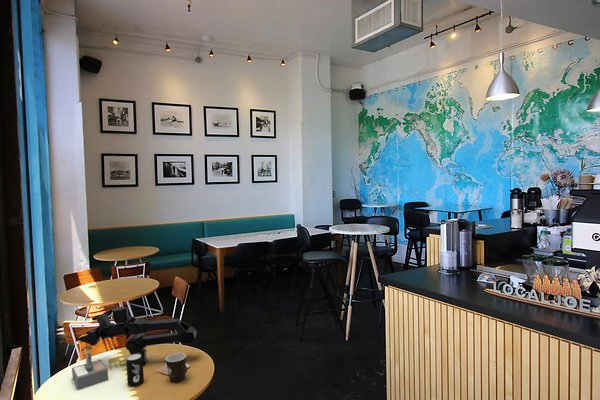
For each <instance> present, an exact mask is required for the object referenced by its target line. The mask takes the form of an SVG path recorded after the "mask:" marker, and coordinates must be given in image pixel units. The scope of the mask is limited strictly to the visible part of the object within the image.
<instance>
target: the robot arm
mask: <svg viewBox="0 0 600 400" xmlns="http://www.w3.org/2000/svg"><path fill="white" fill-rule="evenodd" d="M111 311H112V313H111V314H112V318H113V322H112V321H111V320H110V318H109V316H108V314H107V312H106V313H103V314H101V315H100V316H97V317H96V321H97V323H98V324H99V325H98V326H96V327H95V328H93V329H90V330H87V331H85V333H86V334H85V335H82V336H79V337H77V341H79V342H83V343H85V344H89V346H90V347H93V346H96V345H97V344H98V343H100V341H101V340H102V341H104V340H106V339H109V338H110V339H113V338H114V337H120V336H121V337H122V336H125V338H126V340H127V342H126V343H125V348H126V350H127V351H128V352H129V354H130V355H133V354H141V357H142V359H143V367H145V366H146V365H147V363H148V361H149V359H148V358H147V357H148V356H147V349H146V347H148V346H149V347H150V346H156V345H164V344H171V343H179V344H192V343H193V342H194V341H195V339H196V336H197V330H196V328H194V327H193V326H190V325H189V324H188V323H186V322H184V321H182V320H181V319H180V318H173V319H160V320H148V319H146V318H136V317H135V316H132V315H129V308H128V306H118V307H115V308H113V309H112V310H111ZM163 330H164V331H165V330H174V332H167V333H161V334H160V333H159V334H152V335H145V333H146V332H150V331H163Z"/></svg>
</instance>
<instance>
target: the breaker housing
mask: <svg viewBox="0 0 600 400" xmlns="http://www.w3.org/2000/svg"><path fill="white" fill-rule="evenodd" d="M92 367H93V368H92V369H91V370H89V369H88V367H87V365H86V363H85V364H84V363H83V364H81V365H77V366H74V367H72V368H71V373H72V375H71V376H72V380H73V383H74V384H75V386H76V388H77V390H79V391H81V390H83V389H86V388H88V387H91V386H95V385H98V384H101V383H104V382H107V381H109V371H108V368H107V366H106V365H105V364H104V362H103V361H102V359H98V360H93V361H92Z"/></svg>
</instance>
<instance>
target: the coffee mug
mask: <svg viewBox="0 0 600 400" xmlns="http://www.w3.org/2000/svg"><path fill="white" fill-rule="evenodd" d="M186 361H187V355H186V353H183V352H176V353H171V354H169V355H167V356H166V357H165V364H166V368H167V374H168V378H169V382H170V383H172V384H178V383H181V382H183V381H184V380H185V378H186V374H187V372H188V367H187V364H186V363H187V362H186Z"/></svg>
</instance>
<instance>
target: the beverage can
mask: <svg viewBox="0 0 600 400" xmlns="http://www.w3.org/2000/svg"><path fill="white" fill-rule="evenodd" d="M125 363H126V366H125V367H126V377H127V385H128V386H130V387H138V386H141V385H142V384H143V383H144V381H145V376H144V375H145V374H144V366H143V359H142V357H141V354H133V355H131V354H130V355H128V356H127V357H126V361H125Z"/></svg>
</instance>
